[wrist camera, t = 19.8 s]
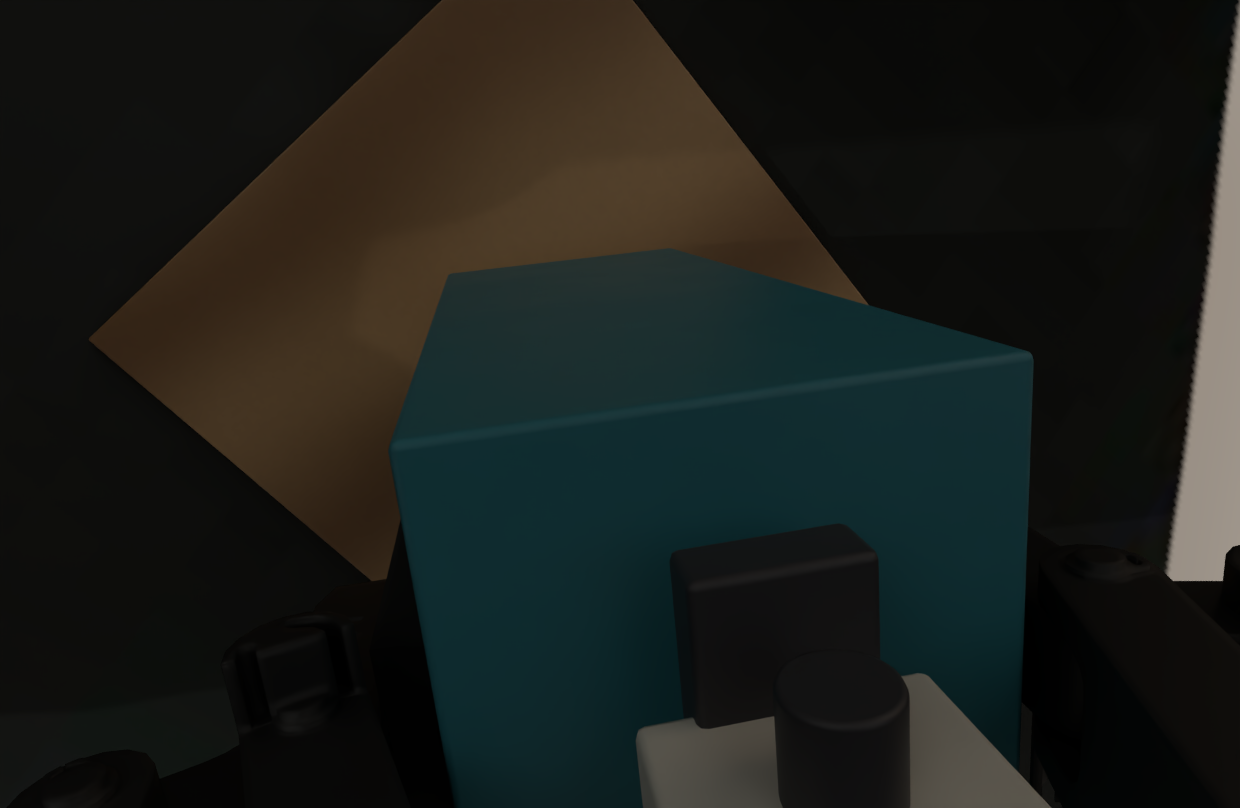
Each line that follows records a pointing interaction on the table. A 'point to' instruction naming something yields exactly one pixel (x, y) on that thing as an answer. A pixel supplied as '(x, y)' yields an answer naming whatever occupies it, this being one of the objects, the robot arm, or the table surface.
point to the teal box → (715, 542)
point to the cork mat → (437, 237)
